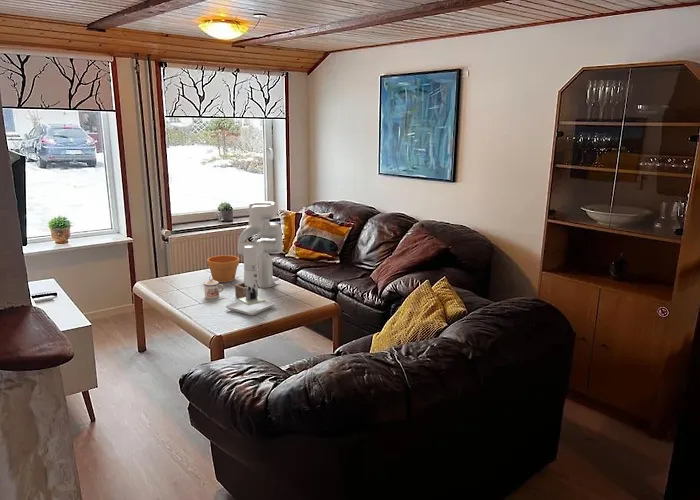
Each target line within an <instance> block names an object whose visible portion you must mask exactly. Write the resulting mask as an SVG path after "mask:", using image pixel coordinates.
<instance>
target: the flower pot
mask: <svg viewBox="0 0 700 500" xmlns="http://www.w3.org/2000/svg"><path fill="white" fill-rule="evenodd" d="M206 260H207V261H206V263H207V266H208V268H209V270H210V273H211V274H210V275H211V279H213V280H215V281H218V282H219V283H229V282H233V281H235V278H236V274H237V271H238V270H237V269H238V266H240V265H239V263H240V258H239V257H238V256H236V255H227V254H226V255H225V254H224V255H215V256H210V257H208V258H207V259H206Z"/></svg>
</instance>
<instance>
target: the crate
mask: <svg viewBox="0 0 700 500" xmlns="http://www.w3.org/2000/svg"><path fill="white" fill-rule="evenodd" d="M253 289H254V288H253ZM246 291H247V287H246V285H245V284H244V282H241V283H235V284H234V292H235V298H238V299H240V298H244V297H246ZM258 291H259V289H258V290H257V296H258V297H259V293H258Z"/></svg>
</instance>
